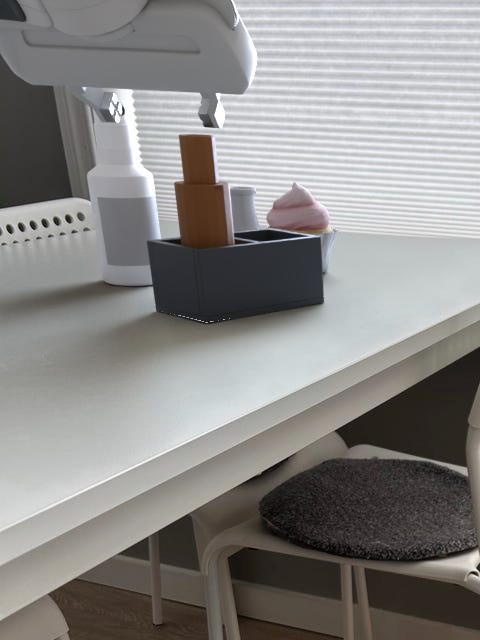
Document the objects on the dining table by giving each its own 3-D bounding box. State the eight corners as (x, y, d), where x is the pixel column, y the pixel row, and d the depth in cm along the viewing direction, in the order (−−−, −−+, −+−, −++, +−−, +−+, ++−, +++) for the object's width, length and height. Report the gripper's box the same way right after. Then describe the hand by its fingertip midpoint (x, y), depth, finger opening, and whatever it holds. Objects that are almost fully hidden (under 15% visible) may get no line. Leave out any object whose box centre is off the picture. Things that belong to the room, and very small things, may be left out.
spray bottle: (132, 289, 104) (104, 101, 95) (90, 281, 107) (60, 98, 98) (179, 281, 109) (157, 102, 100) (138, 273, 112) (113, 99, 103)
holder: (155, 310, 95) (146, 240, 92) (274, 291, 106) (269, 227, 102) (206, 323, 91) (198, 250, 88) (324, 302, 102) (321, 236, 98)
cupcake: (288, 262, 123) (283, 177, 118) (352, 269, 120) (349, 181, 115) (248, 273, 115) (240, 182, 110) (315, 280, 112) (310, 187, 107)
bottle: (178, 302, 95) (157, 133, 88) (218, 296, 99) (202, 133, 91) (209, 310, 92) (191, 137, 85) (250, 303, 96) (235, 136, 88)
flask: (292, 281, 111) (286, 188, 106) (255, 291, 106) (247, 192, 101) (242, 275, 114) (234, 183, 109) (203, 284, 108) (192, 187, 103)
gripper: (231, -61, 68) (285, 95, 82) (-29, -68, 71) (65, 84, 84) (212, 8, 67) (271, 156, 80) (-53, -1, 69) (46, 143, 83)
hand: (163, 119), depth 82 cm, fingers open, 8 cm apart
